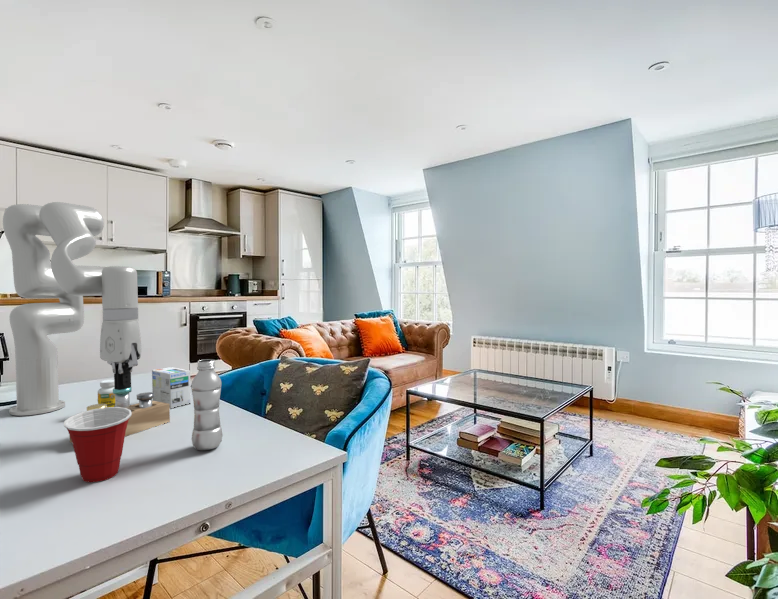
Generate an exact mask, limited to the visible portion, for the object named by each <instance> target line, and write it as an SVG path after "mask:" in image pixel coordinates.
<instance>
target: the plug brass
mask: <svg viewBox="0 0 778 599" xmlns="http://www.w3.org/2000/svg"><path fill="white" fill-rule="evenodd" d="M106 407H107V404H98V403H96V404H92V405H91V404H90V405H88V406H87V407H86V411H89V410H92V409H99V408H106Z"/></svg>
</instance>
